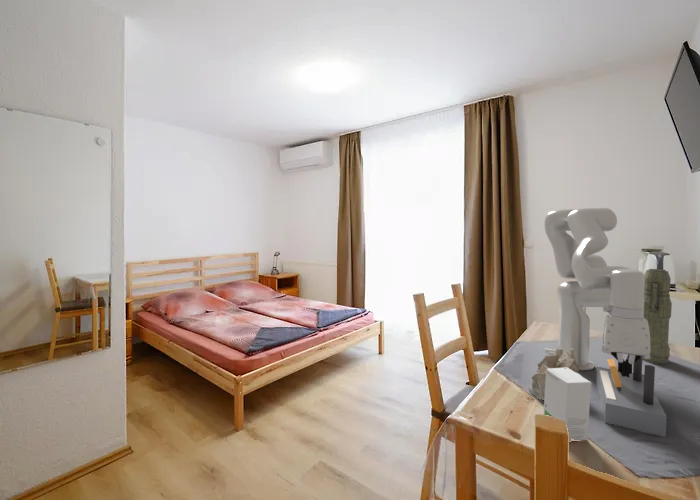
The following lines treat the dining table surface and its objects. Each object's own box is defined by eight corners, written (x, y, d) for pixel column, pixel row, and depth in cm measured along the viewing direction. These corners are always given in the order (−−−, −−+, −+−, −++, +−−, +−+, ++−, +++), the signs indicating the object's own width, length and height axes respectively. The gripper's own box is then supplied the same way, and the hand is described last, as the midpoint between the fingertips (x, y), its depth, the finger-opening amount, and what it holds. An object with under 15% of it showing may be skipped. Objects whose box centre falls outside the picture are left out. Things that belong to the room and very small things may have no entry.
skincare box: (542, 423, 89) (543, 367, 88) (565, 421, 89) (566, 366, 88) (565, 444, 81) (566, 382, 79) (590, 441, 81) (592, 380, 80)
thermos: (667, 357, 129) (671, 268, 126) (670, 367, 120) (675, 272, 117) (637, 352, 135) (640, 267, 132) (638, 361, 126) (641, 270, 123)
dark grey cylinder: (633, 380, 100) (634, 348, 99) (632, 377, 102) (633, 346, 101) (642, 382, 99) (643, 349, 98) (640, 379, 100) (642, 347, 100)
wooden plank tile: (616, 390, 95) (609, 366, 95) (613, 381, 100) (607, 358, 100) (623, 390, 94) (616, 366, 94) (620, 381, 99) (613, 358, 99)
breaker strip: (605, 422, 89) (605, 402, 88) (596, 382, 110) (596, 366, 110) (665, 437, 82) (666, 415, 82) (643, 391, 104) (644, 374, 103)
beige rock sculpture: (560, 377, 115) (559, 335, 113) (593, 404, 98) (592, 356, 97) (514, 380, 115) (513, 339, 114) (540, 407, 99) (538, 360, 97)
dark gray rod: (644, 403, 87) (645, 366, 87) (642, 400, 89) (644, 364, 88) (654, 405, 86) (655, 368, 86) (652, 402, 88) (654, 365, 87)
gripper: (595, 312, 95) (594, 374, 96) (665, 318, 87) (663, 386, 88) (592, 307, 101) (591, 365, 102) (657, 312, 94) (655, 375, 95)
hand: (624, 375), depth 95 cm, fingers closed
